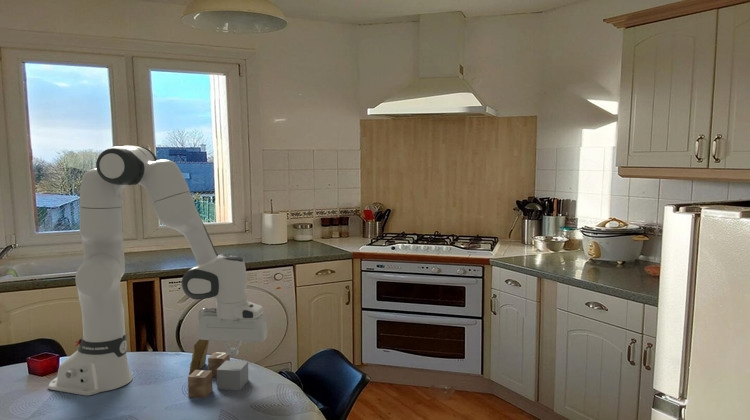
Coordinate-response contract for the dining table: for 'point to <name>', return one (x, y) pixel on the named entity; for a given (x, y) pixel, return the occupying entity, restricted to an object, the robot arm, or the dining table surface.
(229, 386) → the grey block
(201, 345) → the rock
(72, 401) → the dining table surface
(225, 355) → the walnut block seven
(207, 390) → the walnut block one
